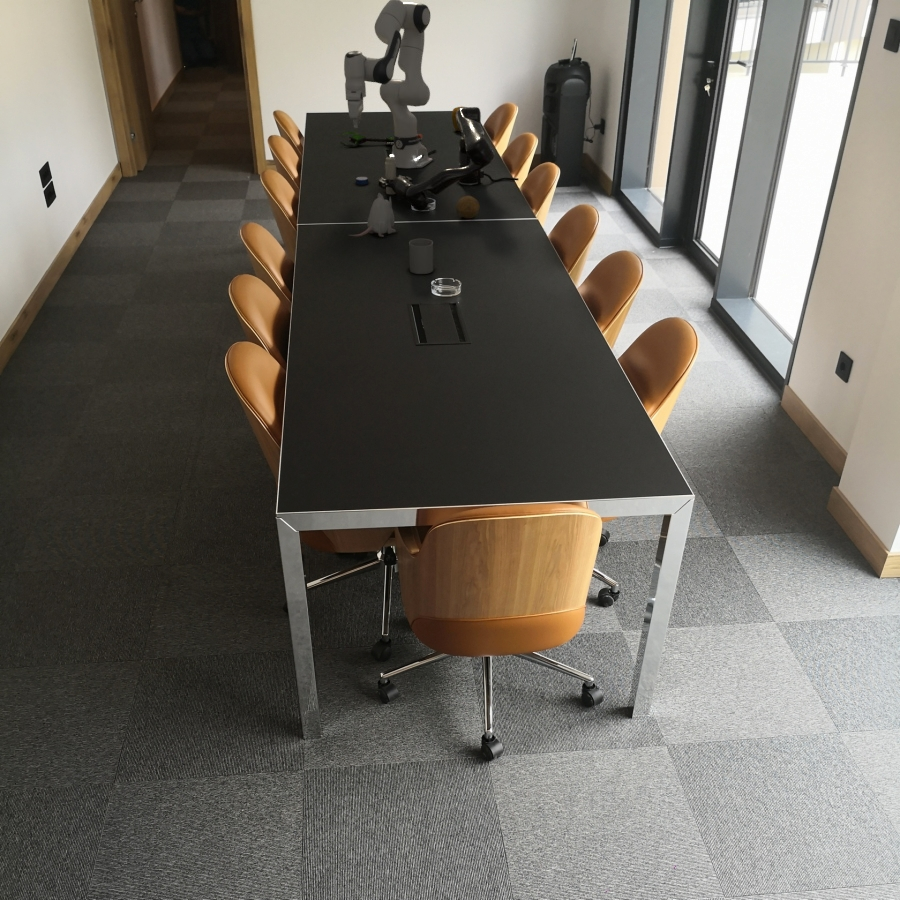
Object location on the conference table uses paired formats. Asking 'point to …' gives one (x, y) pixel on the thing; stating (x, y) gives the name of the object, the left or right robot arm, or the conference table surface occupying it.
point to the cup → (421, 256)
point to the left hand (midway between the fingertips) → (357, 125)
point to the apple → (455, 118)
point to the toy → (380, 217)
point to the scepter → (363, 139)
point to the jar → (390, 172)
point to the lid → (362, 180)
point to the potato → (467, 207)
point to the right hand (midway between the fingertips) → (389, 178)
